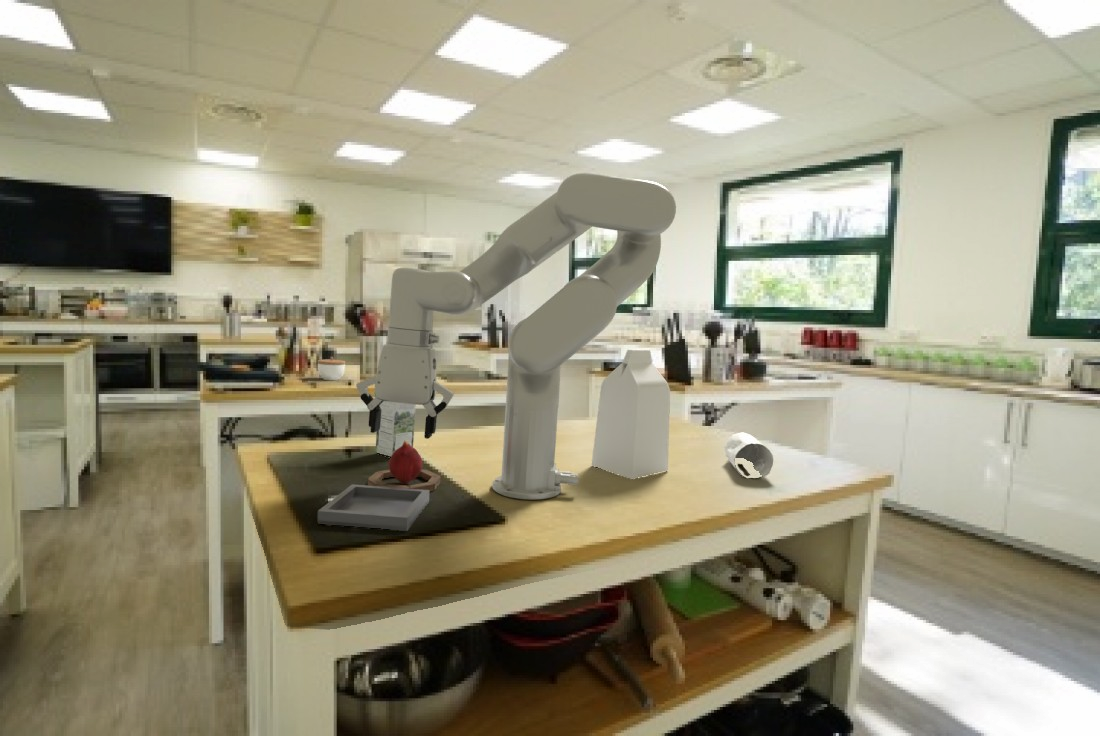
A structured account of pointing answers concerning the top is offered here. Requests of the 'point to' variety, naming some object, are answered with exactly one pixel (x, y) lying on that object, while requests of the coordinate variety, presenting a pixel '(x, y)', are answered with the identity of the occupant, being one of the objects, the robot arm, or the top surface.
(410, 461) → the onion
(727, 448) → the tipped white cup
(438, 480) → the ring
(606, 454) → the milk
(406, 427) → the syrup box
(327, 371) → the lidded jar
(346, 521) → the dish
